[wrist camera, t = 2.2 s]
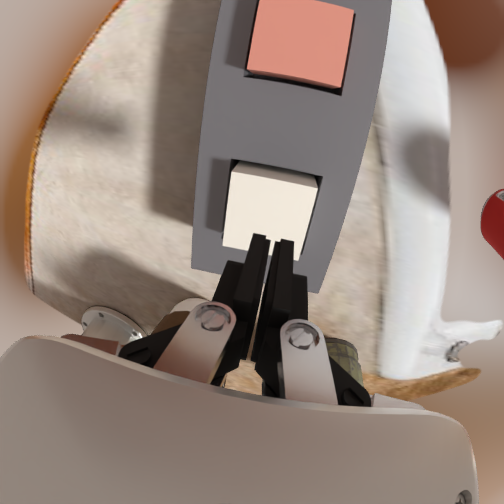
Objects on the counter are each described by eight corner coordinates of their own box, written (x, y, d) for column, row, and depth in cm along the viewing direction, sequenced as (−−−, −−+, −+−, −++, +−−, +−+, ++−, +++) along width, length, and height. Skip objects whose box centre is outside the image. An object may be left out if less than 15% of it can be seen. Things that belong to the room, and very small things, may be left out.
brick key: (332, 89, 15) (340, 87, 12) (253, 73, 15) (246, 69, 12) (344, 22, 12) (353, 10, 10) (265, 7, 12) (261, -8, 10)
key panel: (314, 253, 26) (318, 293, 21) (210, 232, 26) (191, 268, 21) (369, 11, 14) (392, -12, 9) (245, -13, 14) (231, -42, 9)
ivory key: (297, 238, 21) (298, 260, 18) (231, 225, 21) (222, 245, 18) (313, 174, 18) (317, 188, 15) (240, 160, 18) (231, 171, 16)
